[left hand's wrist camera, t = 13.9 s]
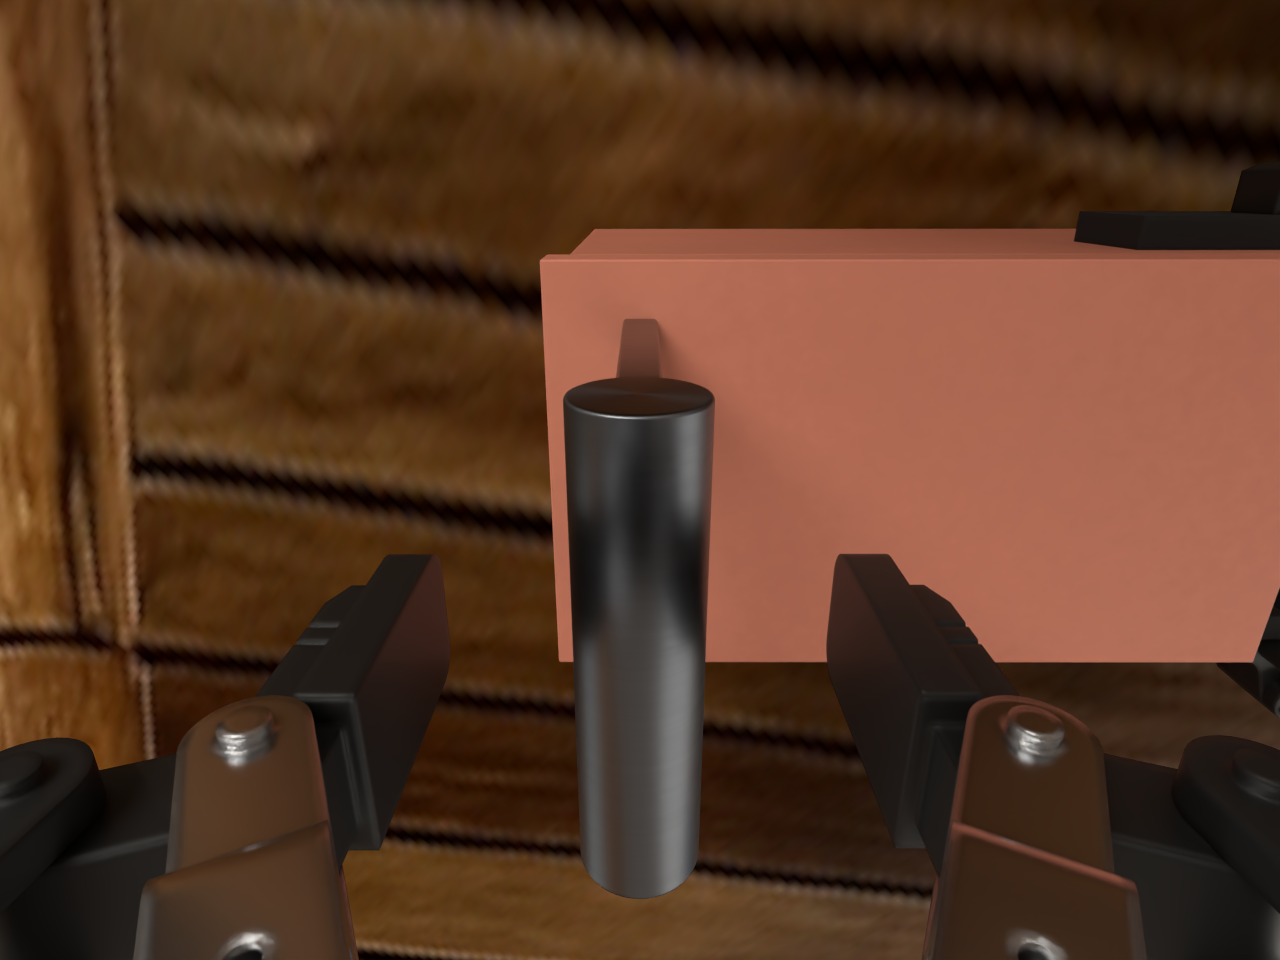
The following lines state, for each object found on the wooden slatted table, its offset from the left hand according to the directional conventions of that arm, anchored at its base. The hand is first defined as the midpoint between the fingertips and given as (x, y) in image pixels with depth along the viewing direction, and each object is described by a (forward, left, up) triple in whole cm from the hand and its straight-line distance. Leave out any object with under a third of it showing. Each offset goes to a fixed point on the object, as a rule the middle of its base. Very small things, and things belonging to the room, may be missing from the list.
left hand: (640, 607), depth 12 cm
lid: (-2, +6, -7) cm, 9 cm away
